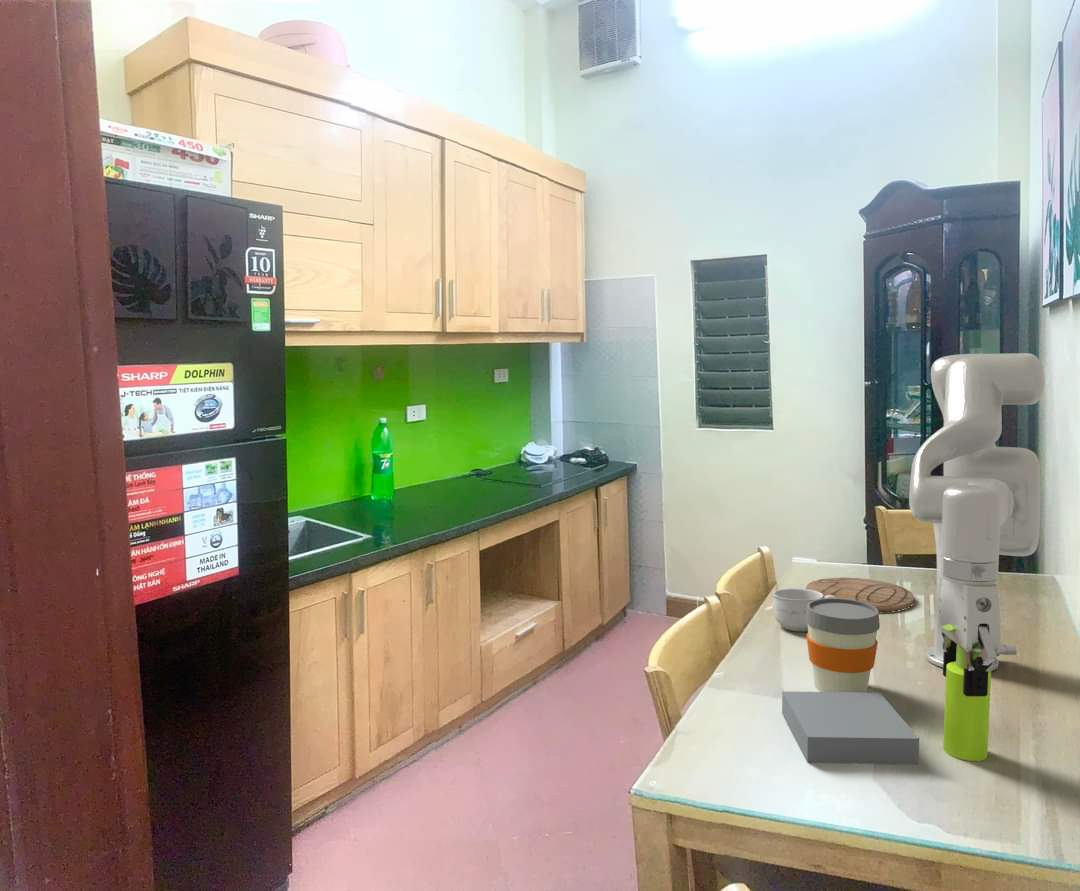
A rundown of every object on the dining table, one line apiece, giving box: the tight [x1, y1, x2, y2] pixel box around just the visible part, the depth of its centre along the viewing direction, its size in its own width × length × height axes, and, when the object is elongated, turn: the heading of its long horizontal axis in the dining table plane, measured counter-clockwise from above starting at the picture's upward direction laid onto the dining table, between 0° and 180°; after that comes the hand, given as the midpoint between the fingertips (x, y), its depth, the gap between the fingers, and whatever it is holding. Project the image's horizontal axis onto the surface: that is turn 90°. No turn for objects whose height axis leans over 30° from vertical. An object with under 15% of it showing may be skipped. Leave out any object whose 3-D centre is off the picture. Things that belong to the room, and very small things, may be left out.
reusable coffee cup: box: [805, 598, 881, 692], centre depth 141 cm, size 13×12×15 cm
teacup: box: [772, 587, 836, 632], centre depth 173 cm, size 14×11×8 cm
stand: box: [781, 691, 920, 765], centre depth 123 cm, size 16×16×4 cm
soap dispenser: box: [942, 624, 992, 762], centre depth 117 cm, size 6×7×20 cm
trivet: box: [805, 577, 915, 613], centre depth 194 cm, size 25×25×2 cm
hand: (964, 684), depth 117 cm, fingers closed on soap dispenser, 5 cm apart
